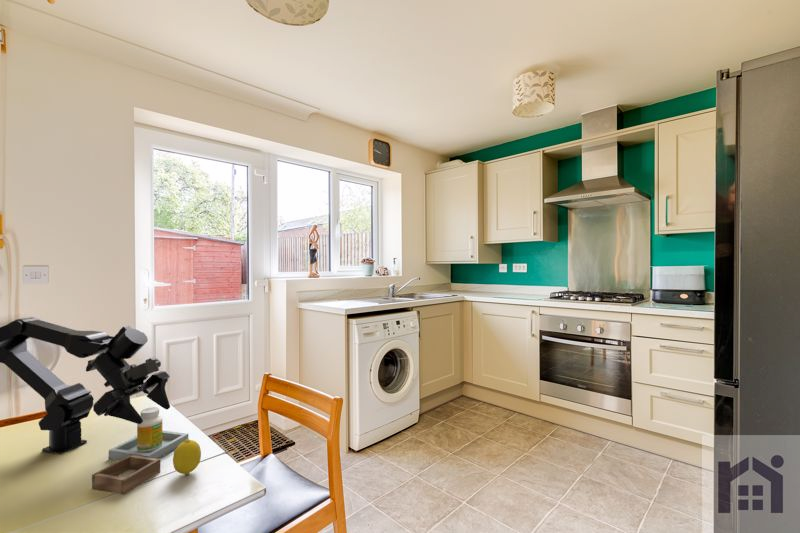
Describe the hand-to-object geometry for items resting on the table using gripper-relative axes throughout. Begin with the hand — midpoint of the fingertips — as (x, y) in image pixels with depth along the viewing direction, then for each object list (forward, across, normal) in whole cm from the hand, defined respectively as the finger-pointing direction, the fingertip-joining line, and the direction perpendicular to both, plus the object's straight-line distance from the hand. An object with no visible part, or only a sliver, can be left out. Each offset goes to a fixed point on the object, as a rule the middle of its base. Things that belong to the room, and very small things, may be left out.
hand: (155, 415), depth 93 cm
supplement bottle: (+5, 0, +7) cm, 9 cm away
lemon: (+18, -10, -4) cm, 20 cm away
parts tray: (+5, 0, +7) cm, 9 cm away
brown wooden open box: (+9, -13, +4) cm, 16 cm away
